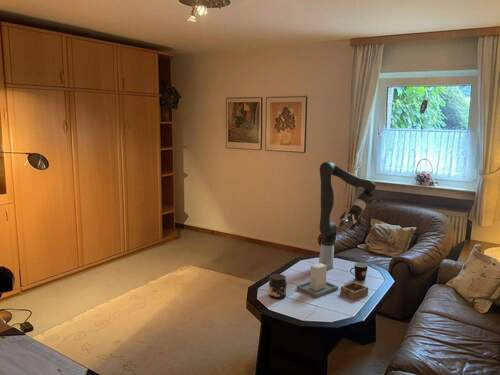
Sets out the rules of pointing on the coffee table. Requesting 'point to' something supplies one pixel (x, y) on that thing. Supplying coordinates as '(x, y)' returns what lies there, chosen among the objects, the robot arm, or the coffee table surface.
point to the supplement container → (277, 286)
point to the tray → (308, 290)
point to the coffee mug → (360, 271)
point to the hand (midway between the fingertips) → (345, 228)
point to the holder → (349, 287)
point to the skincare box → (318, 276)
